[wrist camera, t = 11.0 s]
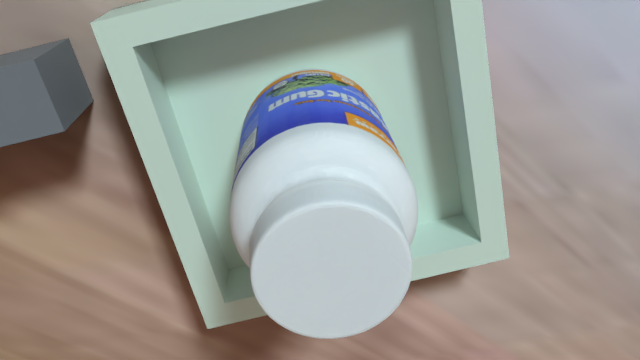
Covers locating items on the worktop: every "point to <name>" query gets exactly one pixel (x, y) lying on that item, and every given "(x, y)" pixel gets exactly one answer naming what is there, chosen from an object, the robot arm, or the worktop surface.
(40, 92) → the block
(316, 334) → the pill bottle
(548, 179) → the worktop surface
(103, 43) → the tray
